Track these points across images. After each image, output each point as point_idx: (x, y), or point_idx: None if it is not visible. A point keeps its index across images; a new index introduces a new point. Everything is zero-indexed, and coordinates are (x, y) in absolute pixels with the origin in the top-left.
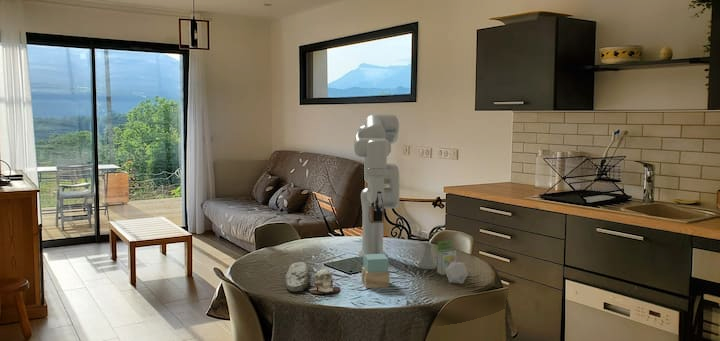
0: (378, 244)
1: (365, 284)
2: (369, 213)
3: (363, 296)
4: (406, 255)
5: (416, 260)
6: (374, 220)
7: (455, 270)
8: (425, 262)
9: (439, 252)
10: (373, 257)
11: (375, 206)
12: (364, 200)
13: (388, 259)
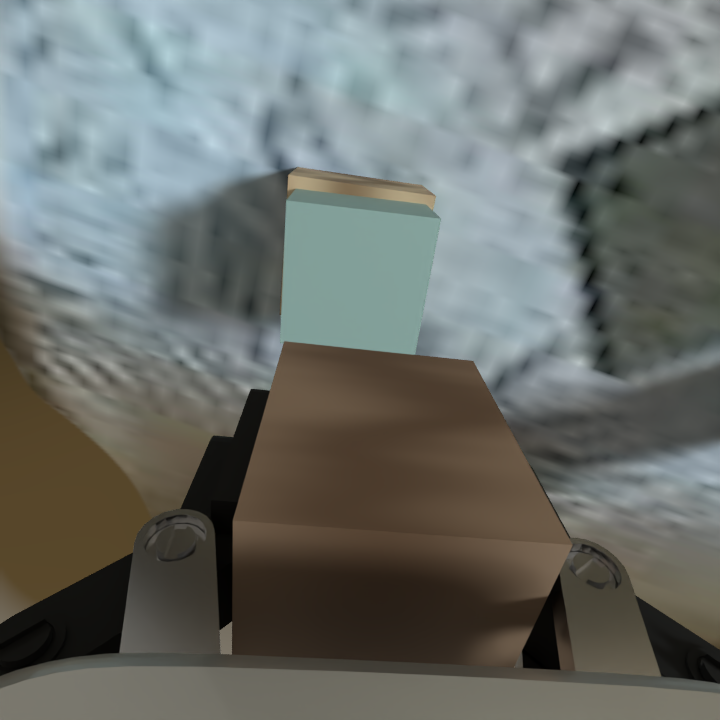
0: None
1: (313, 170)
2: (419, 423)
3: (157, 100)
4: (700, 508)
5: (611, 516)
6: (249, 400)
7: None
8: None
9: None
10: (335, 260)
11: (127, 615)
12: None
13: (280, 340)
